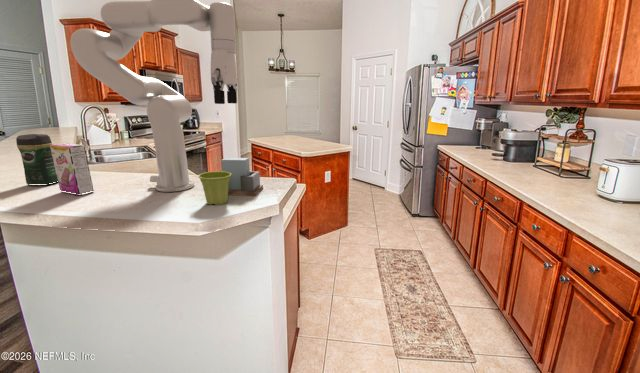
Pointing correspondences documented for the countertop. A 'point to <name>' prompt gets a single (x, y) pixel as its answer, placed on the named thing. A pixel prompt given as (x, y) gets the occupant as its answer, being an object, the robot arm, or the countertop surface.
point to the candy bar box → (72, 167)
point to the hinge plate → (245, 192)
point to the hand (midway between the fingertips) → (226, 103)
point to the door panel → (236, 170)
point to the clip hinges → (250, 181)
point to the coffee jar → (37, 158)
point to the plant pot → (215, 186)
